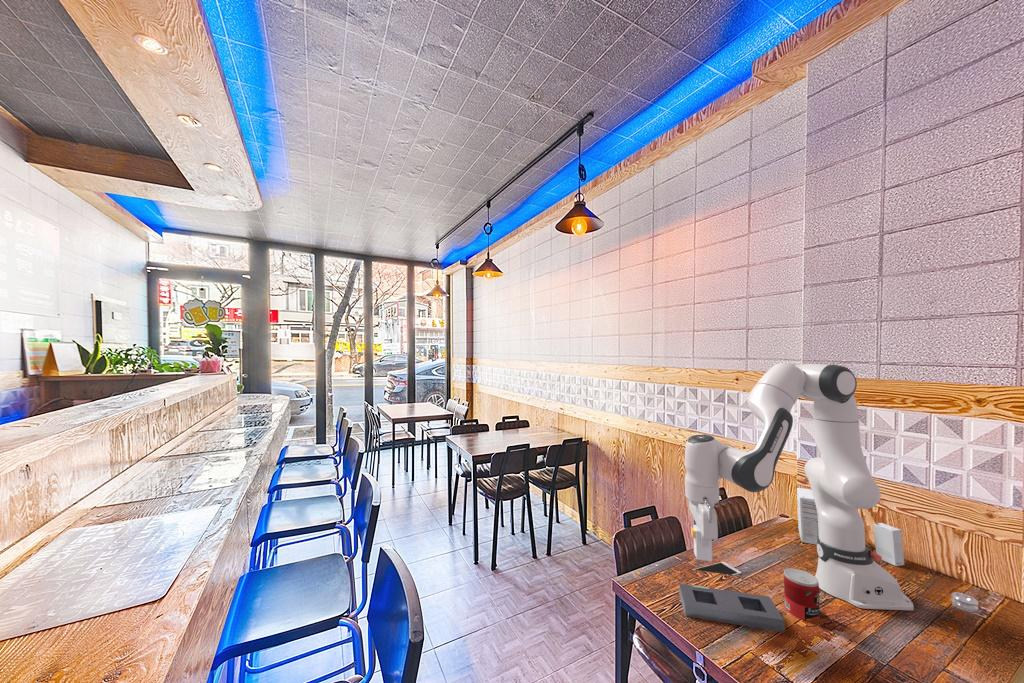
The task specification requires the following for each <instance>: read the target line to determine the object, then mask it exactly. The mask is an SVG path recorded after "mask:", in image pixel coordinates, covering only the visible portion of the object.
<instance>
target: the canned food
mask: <svg viewBox="0 0 1024 683" xmlns="http://www.w3.org/2000/svg"><path fill="white" fill-rule="evenodd" d="M783 585H784V586H783V588H784V589H783V590H784V591H783V592H784V608H785V610H786V611H787V613H789V614H790V615H791V616H793V617H795V618H796V619H799V620H801V621H804V622H808V623H818V622H819V621H821V611H820V610H821V608H820V606H821V605H820V588H819V582H818V579H817V578H816V577H815V575H813V574H812V573H810V572H807V571H805V570H802V569H797V568H793V567H792V568H791V567H790V568H785V569H784V570H783Z"/></svg>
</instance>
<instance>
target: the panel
mask: <svg viewBox="0 0 1024 683" xmlns="http://www.w3.org/2000/svg"><path fill="white" fill-rule="evenodd" d="M678 589H679V590H678V594H679V598H680V602H681V605H682V609H683V614H684V616H685V617H689V618H695V619H701V620H708V621H714V622H720V623H725V624H726V623H727V624H733V625H739V626H745V627H751V628H758V629H763V630H768V631H775V632H781V633H785V632H786V628H785V627H786V626H785V618H784V617H783V615H782V614H781V613H780V611H779V610H778V609H779V608H777V606H776V605H775V603H774V602H773V600H772V599H771V596H768V595H761V594H753V593H747V592H740V591H734V590H733V591H732V590H726V589H718V588H711V587H707V586H699V585H695V584H693V585H691V584H684V583H679V584H678Z"/></svg>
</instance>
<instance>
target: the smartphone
mask: <svg viewBox="0 0 1024 683" xmlns="http://www.w3.org/2000/svg"><path fill="white" fill-rule="evenodd" d="M691 570H692V571H693V570H694V571H700V572H708V573H715V574H723V575H731V576H739V575H741V574H742V571H740V570H738V569H737V568H735V567H733V566H732V565H730V564H729V563H727V562H726V561H721V562H715V563H712V564H709V565H705V566H701V567H697V568H694V569H693V568H692V569H691ZM738 574H739V575H738Z"/></svg>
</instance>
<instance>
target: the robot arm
mask: <svg viewBox="0 0 1024 683" xmlns="http://www.w3.org/2000/svg"><path fill="white" fill-rule="evenodd" d="M857 384H858V383H857V378H856V376H855V374H854V373H853V372H852V371H851V369H849V368H848V367H846V366H844V365H838V364H825V363H823V364H822V363H805V364H804V363H803V364H791V363H787V362H780V363H776V364H774V365H773V366H772V367H770V368H769V369H768V370H767V371H766V372H765V373H764V374H763V375H762V376H761V377H760V379H758V381H757V382H756V384H755V385H754V386H753V388H752V389H751V391H750V392H749V394H748V397H747V405H748V409H749V410H750V412H751V413H752V414H753V415H754V416H755V417H756V418H757V419H758V420H759V421H761V422H762V423H763V424H764V428H763V431H762V432H761V434H760V437H759V439H758V442H757V443H756V445H755V447H754V448H753V449H752V450H750V451H749V450H748V451H746V450H742V449H739V448H736V447H734V446H730V445H728V444H725V443H723V442H721V441H719V440H718V439H716V438H715V437H714V436H712V435H709V434H695V435H691V436H689V437H688V438H687V440H686V442H685V448H684V468H685V471H686V473H685V478H684V493H685V494H684V496H685V498H686V499H687V503H688V504H687V505H688V510H689V512H690V513H691V517H692V518H693V519H694V522H695V525H697V526H698V528H699V530H700V532H701V544H702V546H706V547H708V546H709V539H710V540H712V541H717V540H718V538H719V529H718V516H717V511H716V509H715V508H714V507H715V504H718V503H719V502H720V481H719V480H720V479H724V480H725V481H727V482H731V483H733V484H735V485H737V486H739V487H740V488H742V489H744V490H746V491H747V492H750V493H759V492H763V491H765V490H766V489H768V487H770V485H771V484H772V482H773V480H774V476H775V471H776V466H777V464H778V461H779V459H780V456H781V455H782V453H783V451H784V449H785V448H784V447H785V445H786V443H787V441H788V438H789V436H790V433H791V432H792V428H793V424H794V419H793V415H792V413H791V411H792V410H793V407H794V405H795V404H796V402H797V400H798V399H799V398H801V399H808V400H812V401H813V407H812V408H813V409H812V410H813V412H812V414H813V417H812V419H813V438H814V439H813V441H814V443H815V445H816V447H817V448H818V451H819V453H820V455H821V456H816V457H812V458H810V459H809V460H807V462H805V465H804V467H803V468H804V475H805V476H806V479H807V480H808V482H809V486H810V489H811V490H812V493H813V497H814V501H815V505H816V509H817V514H818V531H819V536H818V537H817V545H816V551H817V552H816V553H817V556H818V558H817V567H816V573H815V575H814V576H815V577H816V578H817V579H818V582H819V590H822V591H823V592H825V593H827V594H829V595H831V596H833V597H835V598H837V599H840V600H842V601H844V602H847V603H849V604H851V605H853V606H855V607H857V608H860V609H864V610H865V609H867V610H868V609H869V610H891V611H893V610H894V611H914V610H915V607H914V603H913V601H912V600H911V599H910V598H909V597H908V596H907V595H906V594H904V593H903V592H902V588H901V586H900V584H899V582H898V581H897V579H896V578H895V577H894V576H893V575H892V574H891V573H889V571H887V570H886V568H885V569H884V568H883V567H882V566H881V565H880V564H878V563H879V562H881V561H883V560H882V558H881V556H880V555H879V554H877V553H876V551H873V550H872V549H870V548H869V547H868V546H866V535H865V534H866V533H865V531H866V530H865V529H866V528H865V522H864V520H863V518H862V516H861V514H860V512H859V510H868V509H871V508H874V507H875V506H877V505H878V504H879V502H880V500H881V498H882V492H881V488H880V487H879V485H878V484H877V482H876V481H875V479H874V478H873V477H872V474H871V472H870V469H869V467H868V464H867V462H866V459H865V456H864V452H863V450H862V444H861V443H862V442H861V432H860V431H861V430H860V418H859V417H860V416H859V409H858V405H857V401H856V397H855V395H854V393H855V391H856V390H857V387H858V386H857ZM858 509H859V510H858ZM877 562H878V563H877Z"/></svg>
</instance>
